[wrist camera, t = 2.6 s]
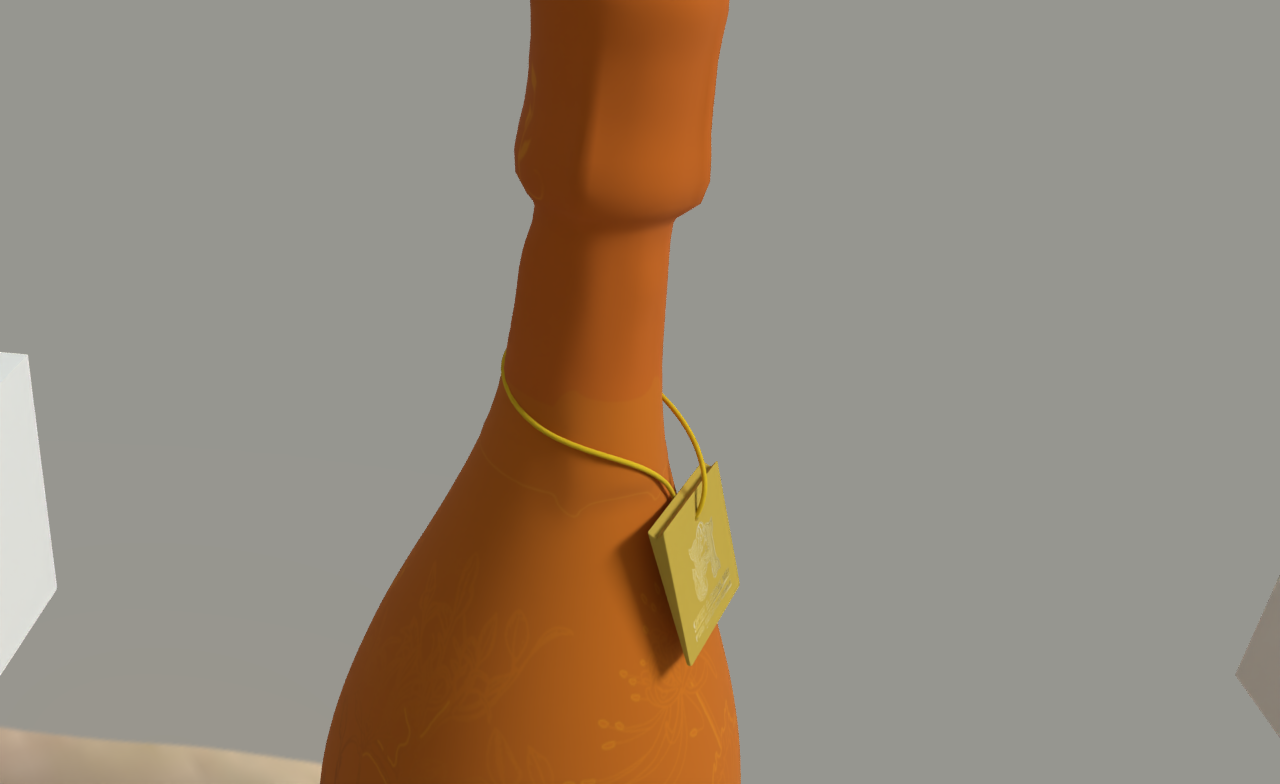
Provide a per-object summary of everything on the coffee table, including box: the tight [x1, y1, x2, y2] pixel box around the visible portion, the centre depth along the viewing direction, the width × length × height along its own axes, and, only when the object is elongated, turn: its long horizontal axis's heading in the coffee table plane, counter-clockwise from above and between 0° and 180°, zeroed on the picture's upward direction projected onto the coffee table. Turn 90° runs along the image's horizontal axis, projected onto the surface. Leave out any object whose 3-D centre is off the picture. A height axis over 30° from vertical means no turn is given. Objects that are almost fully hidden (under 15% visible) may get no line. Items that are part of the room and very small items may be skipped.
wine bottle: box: [320, 0, 741, 784], centre depth 26 cm, size 10×10×30 cm
